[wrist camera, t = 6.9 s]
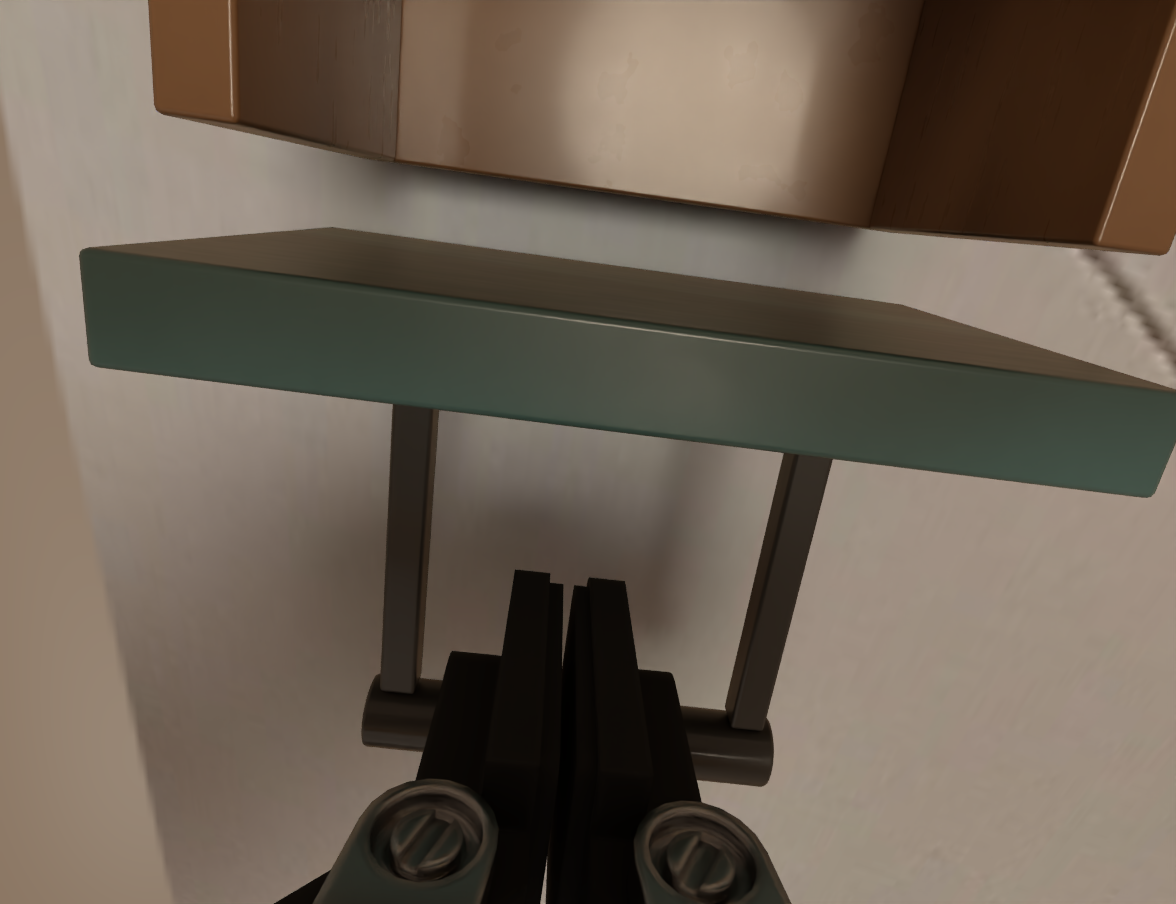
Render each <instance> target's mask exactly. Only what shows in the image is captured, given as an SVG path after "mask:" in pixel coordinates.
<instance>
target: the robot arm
mask: <svg viewBox="0 0 1176 904" xmlns="http://www.w3.org/2000/svg"><path fill="white" fill-rule="evenodd" d="M562 634H563V584H557V583H550V573H543V572H534V571H524V570H515V573H514V579H513V585H512V592H511V598H510V605H509V611H508V618H507V624H506V631H505V637H504V644H503V650H502V656H499V655H489V654H478V653H468V652H458V651H452V652H451V653H450V656H449V659H448V663H447V666H446V670H445V674H444V677H443V681H442V685H441V688H440V692H439V696H438V699H437V703H436V707H435V710H434V714H433V718H432V721H431V725H430V729H429V733H428V736H427V740H426V744H425V747H424V751H423V755H422V758H421V762H420V766H419V769H418V773H417V777H416V780H415V781H410V782H406V783H404V784H401V785H399V786H396V787H394V788H391V789H389V790H387V791H386V792H385V793H383V794H382V795H380V796H379V797H378V798H376V799H375V800H374V801H372V802H371V803H370V805H369V806H368V807H367V809H366V810H365V811H364V812H363V814H362V815H361V816H360V818H359V819H358V821H357V823H356V825H355V827H354V829H353V830H352V832H351V834H350V836H349V838H348V840H347V841H346V843H345V845H344V847H343V849H342V851H341V852H340V854H339V856H338V858H337V860H336V862H335V863H334V865H333V867H332V869H331V870H330V871H328V872H326V873H325V874H323V875H321V876H320V877H318V878H316V879H315V880H313V881H311V882H310V883H308V884H306V885H305V886H303V887H301V888H299V889H298V890H296V891H294V892H293V893H291V894H289V895H288V896H286V897H284V898H283V899H281V900H279V901H278V902H276V903H274V904H540V901H541V894H542V887H543V881H544V874H545V867H546V860H547V882H546V904H791V902H790V900H789V898H788V895H787V893H786V891H785V889H784V887H783V885H782V883H781V881H780V879H779V876H778V874H777V872H776V870H775V868H774V866H773V864H772V862H771V860H770V857H769V855H768V853H767V851H766V850H765V848H764V847H763V845H762V844H761V842H760V840H759V839H758V837H757V836H756V834H755V833H753V832H752V831H751V830H750V829H749V828H748V827H747V826H746V825H745V824H744V823H743V822H742V821H741V820H739V819H738V818H736V817H734V816H733V815H731V814H729V813H728V812H726V811H724V810H723V809H720V808H717V807H714V806H711V805H708V804H705V803H702V802H701V797H700V793H699V788H698V784H697V779H696V775H695V770H694V766H693V761H692V757H691V752H690V748H689V743H688V739H687V734H686V730H685V725H684V721H683V716H682V712H681V707H680V703H679V698H678V694H677V689H676V685H675V681H674V678H673V675H672V674H671V673H670V672H661V671H651V670H641V669H638V665H637V659H636V652H635V645H634V638H633V631H632V625H631V618H630V611H629V604H628V598H627V591H626V584H625V581H618V580H609V579H599V578H590V577H589V579H588V583H587V587H585V586H576V585H574V589H573V595H572V601H571V609H570V616H569V623H568V630H567V637H566V644H565V651H564V658H563V665H562Z"/></svg>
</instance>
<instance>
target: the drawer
mask: <svg viewBox="0 0 1176 904" xmlns="http://www.w3.org/2000/svg"><path fill="white" fill-rule="evenodd" d="M148 5H149V22H150V39H151V57H152V74H153V91H154V105H155V108H156V110H157V111H158V112H160V113H161V114H163V115H167V116H172V117H176V118H181V119H186V120H190V121H195V122H199V123H204V124H209V125H213V126H218V127H222V128H227V129H232V130H236V131H241V132H245V133H250V134H255V135H259V136H264V137H268V138H273V139H277V140H282V141H287V142H291V143H296V144H300V145H305V146H310V147H314V148H319V149H323V150H328V151H333V152H337V153H342V154H346V155H351V156H355V157H360V158H364V159H371V160H378V161H385V162H392V163H399V164H407V165H414V166H421V167H428V168H435V169H442V170H449V171H456V172H463V173H471V174H478V175H485V176H492V177H499V178H506V179H513V180H520V181H527V182H535V183H542V184H549V185H556V186H563V187H570V188H577V189H584V190H591V191H599V192H606V193H613V194H620V195H627V196H634V197H641V198H648V199H656V200H663V201H670V202H677V203H684V204H691V205H698V206H705V207H712V208H720V209H727V210H734V211H741V212H748V213H755V214H762V215H769V216H776V217H784V218H791V219H798V220H805V221H812V222H819V223H826V224H833V225H840V226H848V227H855V228H862V229H869V230H876V231H883V232H890V233H901V234H913V235H925V236H936V237H948V238H960V239H971V240H983V241H995V242H1006V243H1018V244H1030V245H1041V246H1053V247H1065V248H1076V249H1088V250H1100V251H1111V252H1123V253H1135V254H1146V255H1158V256H1160V255H1164V254H1167V252H1168V251H1169V249H1170V247H1171V244H1172V241H1173V239H1174V236H1175V234H1176V0H148ZM79 259H80V270H81V281H82V291H83V302H84V312H85V323H86V334H87V344H88V355H89V361H90V363H91V365H94V366H96V367H100V368H107V369H115V370H123V371H131V372H139V373H147V374H155V375H163V376H171V377H179V378H187V379H195V380H204V381H212V382H220V383H228V384H236V385H244V386H252V387H260V388H268V389H276V390H284V391H292V392H300V393H308V394H316V395H324V396H332V397H340V398H348V399H356V400H364V401H372V402H380V403H388V404H393V409H392V431H391V453H390V475H389V497H388V519H387V541H386V563H385V585H384V607H383V629H382V652H381V674H378V675H376V676H375V678H374V680H373V681H372V683H371V686H370V689H369V692H368V695H367V699H366V703H365V707H364V712H363V719H362V729H361V736H362V742H363V744H364V745H365V746H367V747H377V748H387V749H397V750H407V751H416V752H423V751H424V747H425V744H426V740H427V736H428V733H429V729H430V725H431V721H432V718H433V714H434V710H435V707H436V703H437V699H438V696H439V692H440V688H441V685H442V681H443V680H436V679H427V678H420V676H421V672H422V657H423V642H424V627H425V612H426V597H427V582H428V567H429V552H430V537H431V523H432V508H433V493H434V478H435V463H436V448H437V433H438V418H439V410H444V411H452V412H460V413H468V414H476V415H484V416H492V417H500V418H508V419H516V420H524V421H532V422H540V423H548V424H556V425H564V426H572V427H580V428H588V429H596V430H604V431H612V432H620V433H628V434H636V435H644V436H652V437H660V438H668V439H676V440H685V441H693V442H701V443H709V444H717V445H725V446H733V447H741V448H749V449H757V450H765V451H773V452H781V453H784V455H783V459H782V463H781V467H780V472H779V476H778V480H777V485H776V489H775V493H774V497H773V502H772V506H771V510H770V515H769V519H768V523H767V527H766V532H765V536H764V540H763V545H762V549H761V553H760V558H759V562H758V566H757V570H756V575H755V579H754V583H753V588H752V592H751V596H750V600H749V605H748V609H747V613H746V618H745V622H744V626H743V631H742V635H741V639H740V643H739V648H738V652H737V656H736V661H735V665H734V669H733V673H732V678H731V682H730V686H729V691H728V695H727V699H726V704H725V709H726V710H716V709H707V708H698V707H688V706H680V707H681V712H682V716H683V721H684V725H685V730H686V734H687V739H688V743H689V748H690V752H691V757H692V761H693V766H694V770H695V775H696V779H697V780H700V781H710V782H720V783H730V784H739V785H749V786H759V787H761V786H764V785H766V784H767V783H768V781H769V778H770V775H771V771H772V766H773V757H774V744H773V735H772V730H771V726H770V723H769V721H768V719H767V718H766V717H767V713H768V709H769V705H770V701H771V697H772V693H773V689H774V685H775V682H776V678H777V674H778V670H779V666H780V662H781V658H782V654H783V650H784V647H785V643H786V639H787V635H788V631H789V627H790V623H791V619H792V615H793V612H794V608H795V604H796V600H797V596H798V592H799V588H800V584H801V580H802V576H803V573H804V569H805V565H806V561H807V557H808V553H809V549H810V545H811V541H812V538H813V534H814V530H815V526H816V522H817V518H818V514H819V510H820V506H821V503H822V499H823V495H824V491H825V487H826V483H827V479H828V475H829V471H830V468H831V464H832V460H833V459H837V460H845V461H853V462H861V463H869V464H877V465H885V466H893V467H901V468H909V469H917V470H925V471H933V472H941V473H949V474H957V475H965V476H973V477H981V478H989V479H997V480H1005V481H1013V482H1021V483H1029V484H1037V485H1045V486H1053V487H1061V488H1069V489H1077V490H1085V491H1093V492H1101V493H1109V494H1117V495H1125V496H1133V497H1141V498H1148V497H1151V496H1152V495H1153V494H1154V493H1155V491H1156V489H1157V486H1158V484H1159V482H1160V479H1161V477H1162V474H1163V472H1164V470H1165V467H1166V465H1167V462H1168V460H1169V458H1170V455H1171V453H1172V451H1173V448H1174V446H1175V443H1176V389H1172V388H1169V387H1166V386H1163V385H1159V384H1156V383H1153V382H1150V381H1146V380H1143V379H1140V378H1137V377H1134V376H1130V375H1127V374H1124V373H1121V372H1117V371H1114V370H1111V369H1108V368H1105V367H1101V366H1098V365H1095V364H1092V363H1088V362H1085V361H1082V360H1079V359H1075V358H1072V357H1069V356H1066V355H1063V354H1059V353H1056V352H1053V351H1050V350H1046V349H1043V348H1040V347H1037V346H1033V345H1030V344H1027V343H1024V342H1021V341H1017V340H1014V339H1011V338H1008V337H1004V336H1001V335H998V334H995V333H992V332H988V331H985V330H982V329H979V328H975V327H972V326H969V325H966V324H962V323H959V322H956V321H953V320H950V319H946V318H943V317H940V316H937V315H933V314H930V313H927V312H924V311H920V310H917V309H914V308H911V307H908V306H904V305H901V304H894V303H886V302H879V301H872V300H864V299H857V298H849V297H842V296H835V295H827V294H820V293H813V292H805V291H798V290H791V289H783V288H776V287H768V286H761V285H754V284H746V283H739V282H732V281H724V280H717V279H710V278H702V277H695V276H687V275H680V274H673V273H665V272H658V271H651V270H643V269H636V268H629V267H621V266H614V265H606V264H599V263H592V262H584V261H577V260H570V259H562V258H555V257H547V256H540V255H533V254H525V253H518V252H511V251H503V250H496V249H489V248H481V247H474V246H466V245H459V244H452V243H444V242H437V241H430V240H422V239H415V238H408V237H400V236H393V235H385V234H378V233H371V232H363V231H356V230H349V229H341V228H334V227H329V228H317V229H305V230H293V231H281V232H269V233H257V234H245V235H233V236H221V237H209V238H197V239H184V240H172V241H160V242H148V243H136V244H124V245H112V246H100V247H89V248H85V249H82V250H81V252H80V255H79Z"/></svg>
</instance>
